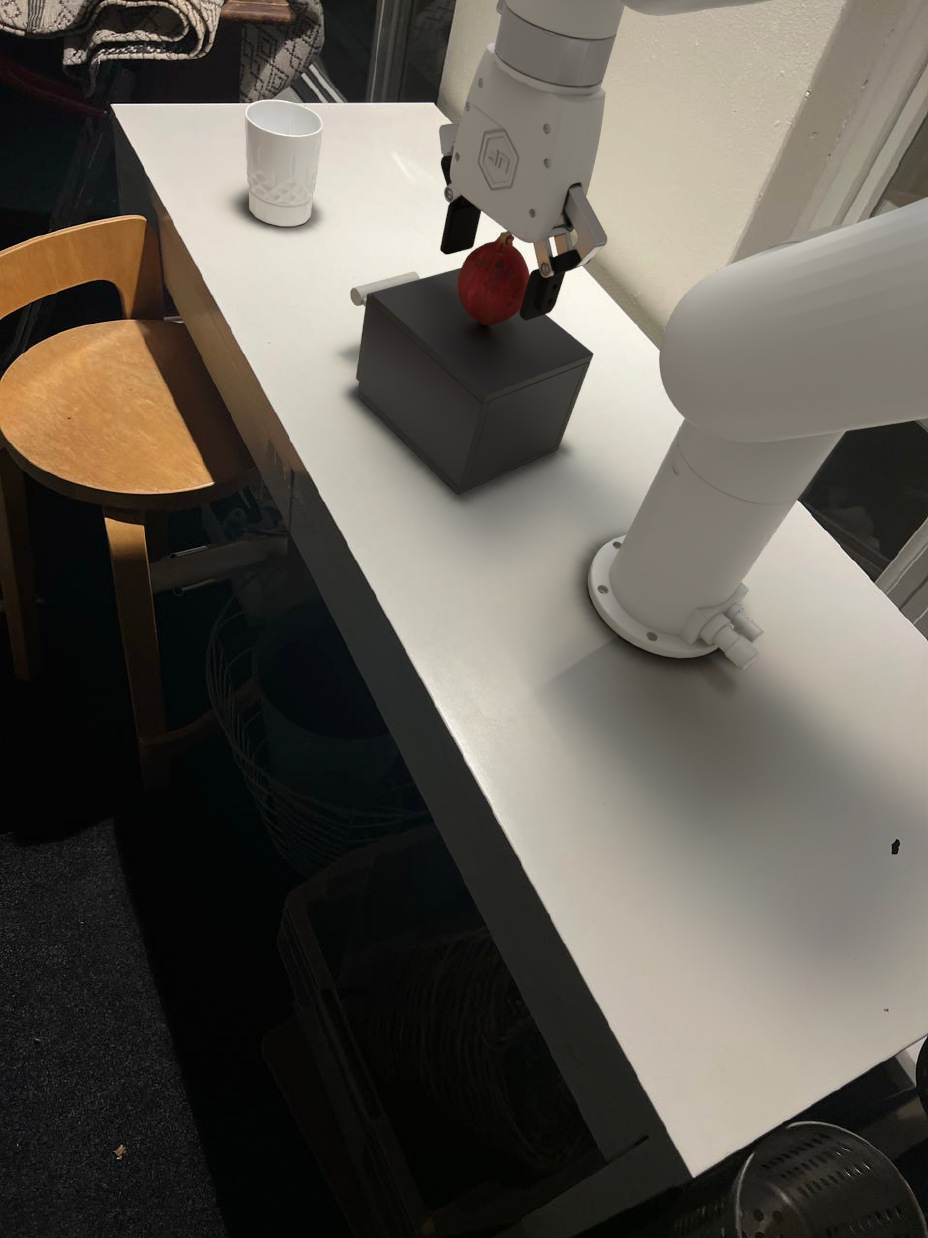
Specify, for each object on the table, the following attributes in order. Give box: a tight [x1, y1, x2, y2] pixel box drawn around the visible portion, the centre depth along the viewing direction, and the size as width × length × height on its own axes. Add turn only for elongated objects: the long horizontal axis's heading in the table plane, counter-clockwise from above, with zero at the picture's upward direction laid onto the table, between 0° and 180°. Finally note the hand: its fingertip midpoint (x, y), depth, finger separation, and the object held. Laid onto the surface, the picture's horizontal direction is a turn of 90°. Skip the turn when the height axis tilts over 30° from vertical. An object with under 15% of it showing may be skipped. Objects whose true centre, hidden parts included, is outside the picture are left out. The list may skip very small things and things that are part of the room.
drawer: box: [349, 267, 461, 382], centre depth 81 cm, size 18×11×9 cm, turn 41°
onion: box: [457, 230, 530, 325], centre depth 72 cm, size 6×6×8 cm
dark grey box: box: [356, 268, 594, 495], centre depth 79 cm, size 15×13×11 cm
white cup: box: [244, 99, 324, 227], centre depth 96 cm, size 8×8×10 cm
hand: (494, 281), depth 72 cm, fingers open, 9 cm apart
